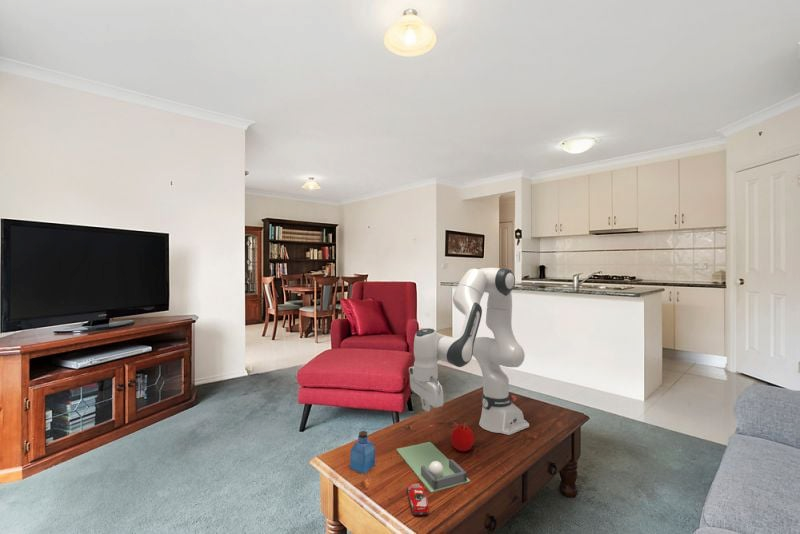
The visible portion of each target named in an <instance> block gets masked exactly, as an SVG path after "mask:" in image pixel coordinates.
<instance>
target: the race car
mask: <svg viewBox="0 0 800 534" xmlns="http://www.w3.org/2000/svg"><path fill="white" fill-rule="evenodd" d="M406 488H407V495H408V501H409V505H410V510H411V513H412V515H414V516H426V515H428V514H429V513H430V506H429V502H428V498H427V495H426V489H427V488H424V484H423V483H419V482H411V483H410V484H408V486H407V487H406Z"/></svg>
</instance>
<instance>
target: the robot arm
mask: <svg viewBox="0 0 800 534" xmlns="http://www.w3.org/2000/svg"><path fill="white" fill-rule="evenodd" d="M515 284H516V277H515V274H514V272H513V271H512V270H511V269H508V268H505V267H500V268H499V267H483V268H478V267H477V268H470V269H469V270H467V271H466V272H465V274H464V275H463V277H462V278H461V280H460V281H459V283H458V284H457V286H456V288H455V290H454V292H453V295H452V303H453V304H454V307H455V308H456V309H457V310H458V311H459V312H460V313H462V315H464V316H465V318H464V323H463V326H462V329H461V333H460V335H459V336H457V337H454V336H449V335H445V334H443V333H442V334H441V333H439V332H438V331H436V330H435V329H434V328H421V329H419V330H417V331H416V332H415V334H414V339H413V340H414V341H413V356H414V362H413V366H410V367H408V373H409V387H410V389H411V391H413V392H414V393H415V394H417V395H418V396H419V397H420V401H421V405H422V409H423V410H424V411H425V412H427V413H428V412H430V411H431V406H432V407H433V408H435V409H436V408H440V407H443V406H444V404H445V403H444V401H445V400H444V399H445V398H444V391H443V386H442V385H441V383H440V381H439V380H438V377H439V371H438V367H439V364H438V361H441V362H444V363H448V364H451V365H453V366H455V367H457V368H463V367H465V366H466V365H468V364H469V362H470V361H471V360H472V357H474V359H475V360H476V362H477V364H478V365H479V367H480V369H481V375H482V385H483V387H482V388H483V390H482V391H483V392H481V393H482V394H481V402H482V403H481V404H482V407H481V408H482V409H481V414H480V419H479V423H478V425H479V427H481V428H482V429H483V430H486V431H488V432H491V433H498V434H504V435H507V436H510V435H513V434H515V433H518V432H520V431H522V430H524V429H528V428H530V423H529V422H528V421H527V420H525V418H524V414H523V413H524V412H523V410H521V409H520V408H519V407H517V406H516V404H514V403H513V402H515V401H516V400H517V397H516V396H515V395H510V394H509V393H510V391H509V389H510V384H509V377H508V375H507V374H506V373H505V372H504V371H503V369H502V368H501V366H502V367H506V368H519V367H520V366H521V365H522V364H523V362H524V361H525V356H526V355H525V351H524V348H523V347H522V345H520V343H518V341H517V340H516V338H515V337H516V336H515V334H514V331H513V327H512V316H513V315H512V314H513V296H512V291H513V289H514V287H515ZM484 293H486V294H488V296H487V301H486V314H485V315H486V317H485V325H486V327H487V328H488V329H489V330H490V331H491V332H492V334H493V337H494V338H492V337H488V336H479V337H477V336H478V335H477V334H478V331H479V327H480V323H481V321H482V320H481V319H482V315H483V308H482V306H481V302H482V301H481V300H482V298H483V295H484ZM512 401H513V402H512Z"/></svg>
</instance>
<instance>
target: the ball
mask: <svg viewBox="0 0 800 534" xmlns="http://www.w3.org/2000/svg"><path fill="white" fill-rule="evenodd" d="M429 472H430V473H431V474H432V475H433V476H434V477H435V478H439V477H441V476H442V474H443V466H442V464H441V463H440V462H438V461H433V462H432V463H431V464H430V465H429Z"/></svg>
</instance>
